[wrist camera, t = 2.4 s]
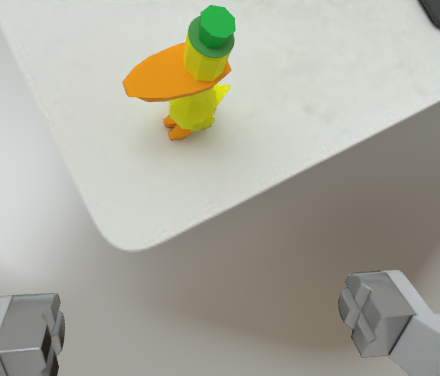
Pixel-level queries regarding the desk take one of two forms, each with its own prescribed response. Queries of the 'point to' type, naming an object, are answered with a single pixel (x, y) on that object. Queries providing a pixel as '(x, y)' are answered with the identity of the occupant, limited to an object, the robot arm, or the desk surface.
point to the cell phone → (433, 10)
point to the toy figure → (188, 73)
